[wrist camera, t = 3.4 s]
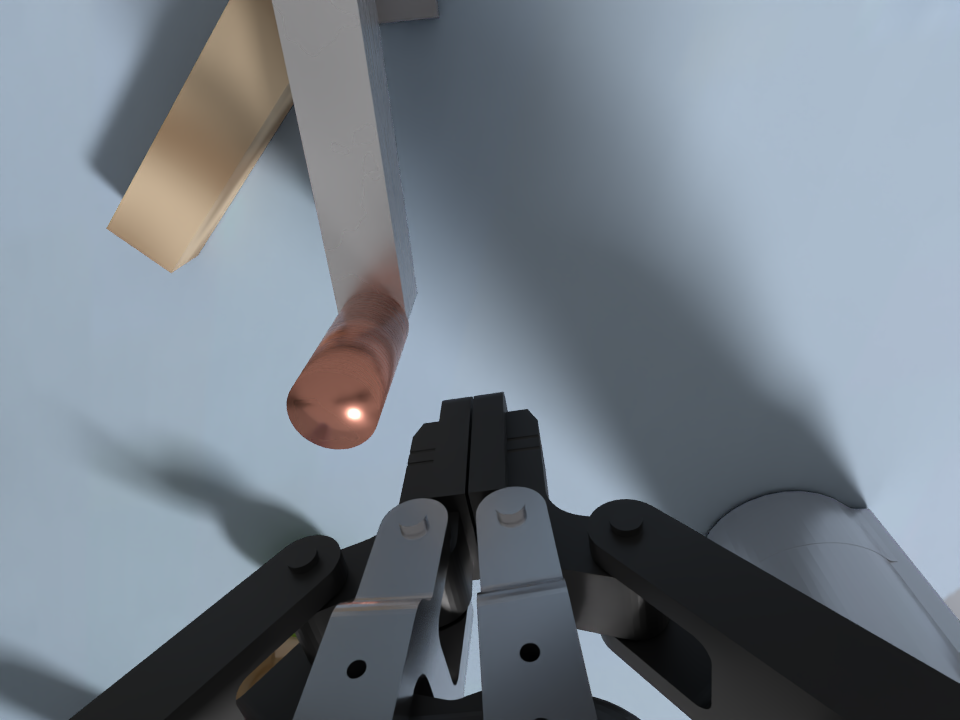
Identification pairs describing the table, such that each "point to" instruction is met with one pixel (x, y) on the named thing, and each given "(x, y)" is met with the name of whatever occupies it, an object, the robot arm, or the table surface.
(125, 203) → the base
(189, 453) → the table surface
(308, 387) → the bar
